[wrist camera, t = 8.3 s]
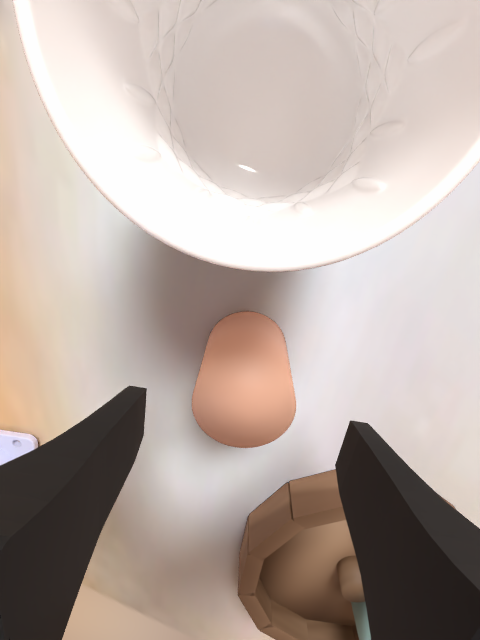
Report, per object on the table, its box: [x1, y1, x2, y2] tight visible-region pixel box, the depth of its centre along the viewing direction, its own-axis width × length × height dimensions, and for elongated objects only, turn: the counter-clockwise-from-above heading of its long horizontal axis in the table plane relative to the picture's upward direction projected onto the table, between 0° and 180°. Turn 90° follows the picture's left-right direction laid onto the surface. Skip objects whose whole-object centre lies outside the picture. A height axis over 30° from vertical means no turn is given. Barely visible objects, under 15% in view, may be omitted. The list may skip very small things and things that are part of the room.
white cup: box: [13, 0, 480, 272], centre depth 10 cm, size 8×8×10 cm
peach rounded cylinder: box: [192, 311, 296, 448], centre depth 16 cm, size 4×4×5 cm
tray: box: [238, 469, 455, 640], centre depth 23 cm, size 14×14×2 cm
